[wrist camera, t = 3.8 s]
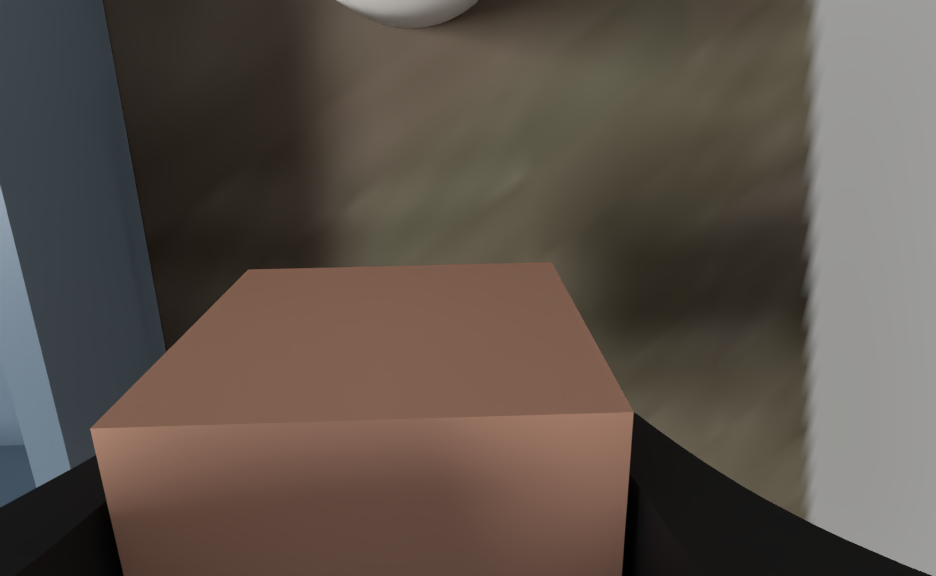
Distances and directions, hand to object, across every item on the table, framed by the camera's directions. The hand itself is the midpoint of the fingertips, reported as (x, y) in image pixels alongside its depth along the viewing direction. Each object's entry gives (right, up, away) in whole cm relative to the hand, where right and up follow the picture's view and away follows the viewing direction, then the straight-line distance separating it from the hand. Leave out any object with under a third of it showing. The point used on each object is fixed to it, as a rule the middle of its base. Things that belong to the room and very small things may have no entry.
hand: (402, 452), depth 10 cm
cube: (0, 0, +1) cm, 2 cm away
